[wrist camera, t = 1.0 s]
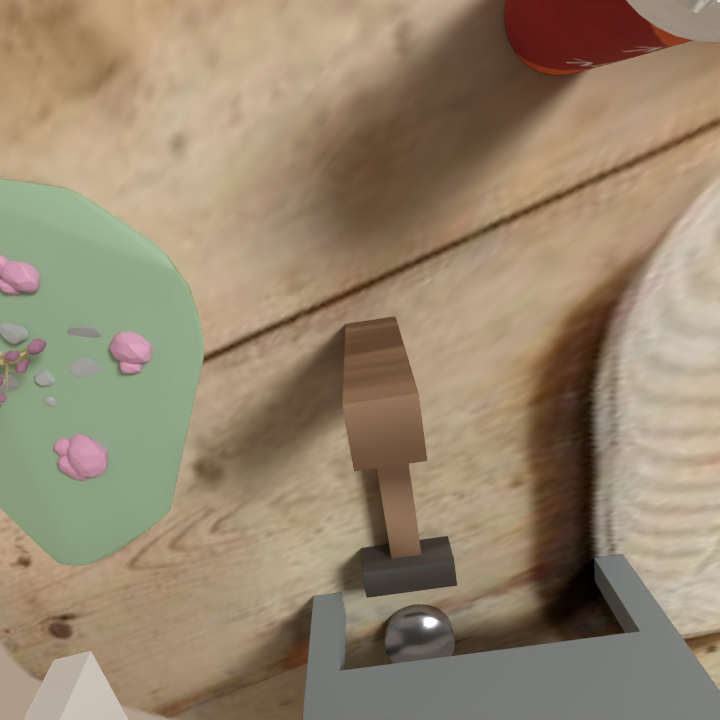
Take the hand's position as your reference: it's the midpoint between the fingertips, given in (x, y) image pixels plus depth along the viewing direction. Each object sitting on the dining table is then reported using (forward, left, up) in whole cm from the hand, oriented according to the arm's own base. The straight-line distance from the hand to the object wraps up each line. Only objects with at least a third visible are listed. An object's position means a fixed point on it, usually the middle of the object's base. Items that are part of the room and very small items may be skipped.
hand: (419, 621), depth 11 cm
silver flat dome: (0, +23, -23) cm, 33 cm away
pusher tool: (0, +9, -23) cm, 24 cm away
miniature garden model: (+20, +1, -24) cm, 31 cm away
